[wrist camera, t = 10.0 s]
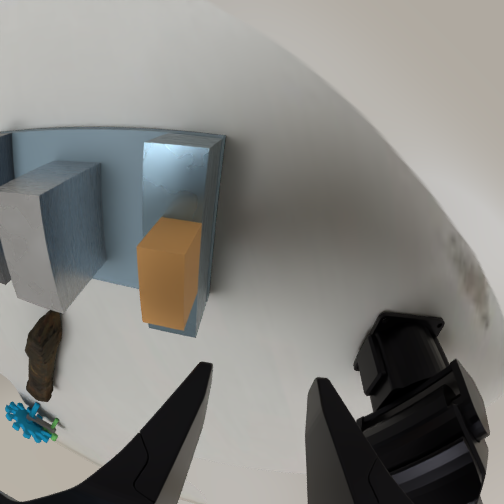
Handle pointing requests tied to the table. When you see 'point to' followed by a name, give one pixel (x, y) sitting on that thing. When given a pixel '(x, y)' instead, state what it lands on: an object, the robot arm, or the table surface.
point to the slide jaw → (176, 230)
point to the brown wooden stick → (43, 355)
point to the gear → (31, 422)
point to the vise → (112, 183)
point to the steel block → (53, 231)
